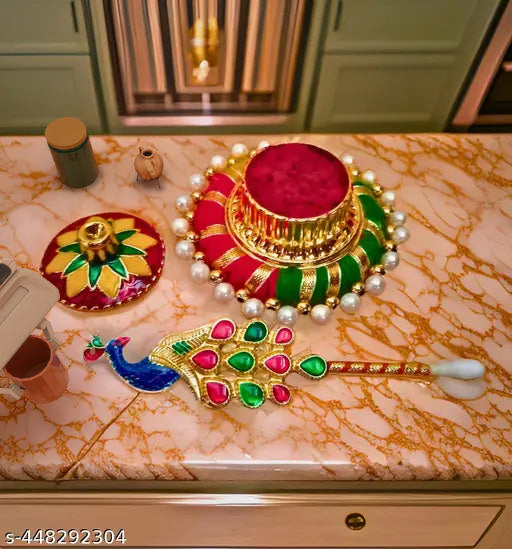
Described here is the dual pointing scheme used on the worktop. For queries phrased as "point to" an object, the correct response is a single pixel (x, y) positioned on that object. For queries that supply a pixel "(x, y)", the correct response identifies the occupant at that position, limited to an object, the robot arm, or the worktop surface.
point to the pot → (148, 165)
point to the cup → (38, 370)
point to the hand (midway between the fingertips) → (40, 370)
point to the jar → (72, 152)
